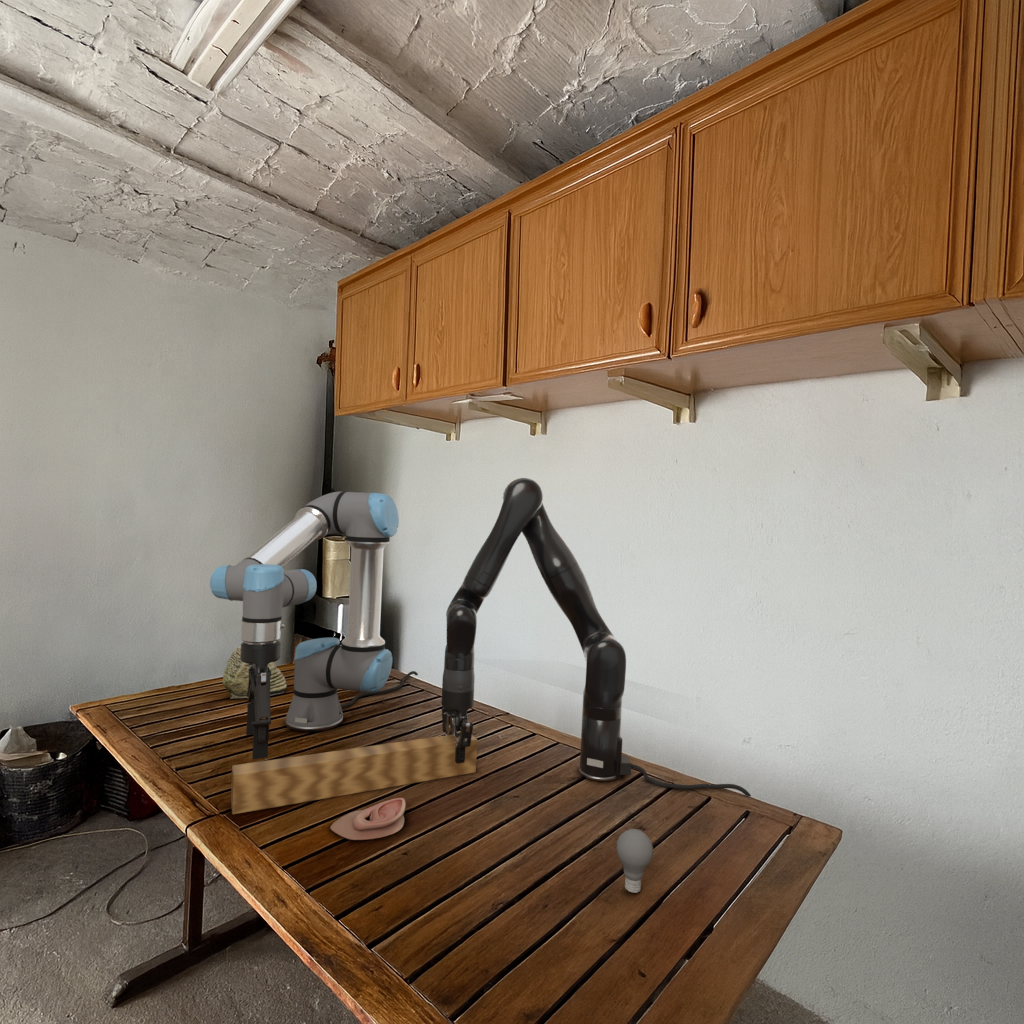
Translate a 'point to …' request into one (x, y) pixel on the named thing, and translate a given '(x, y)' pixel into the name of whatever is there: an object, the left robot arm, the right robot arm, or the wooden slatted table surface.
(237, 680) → the fossil
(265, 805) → the post
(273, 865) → the wooden slatted table surface
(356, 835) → the anatomical model
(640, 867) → the light bulb
